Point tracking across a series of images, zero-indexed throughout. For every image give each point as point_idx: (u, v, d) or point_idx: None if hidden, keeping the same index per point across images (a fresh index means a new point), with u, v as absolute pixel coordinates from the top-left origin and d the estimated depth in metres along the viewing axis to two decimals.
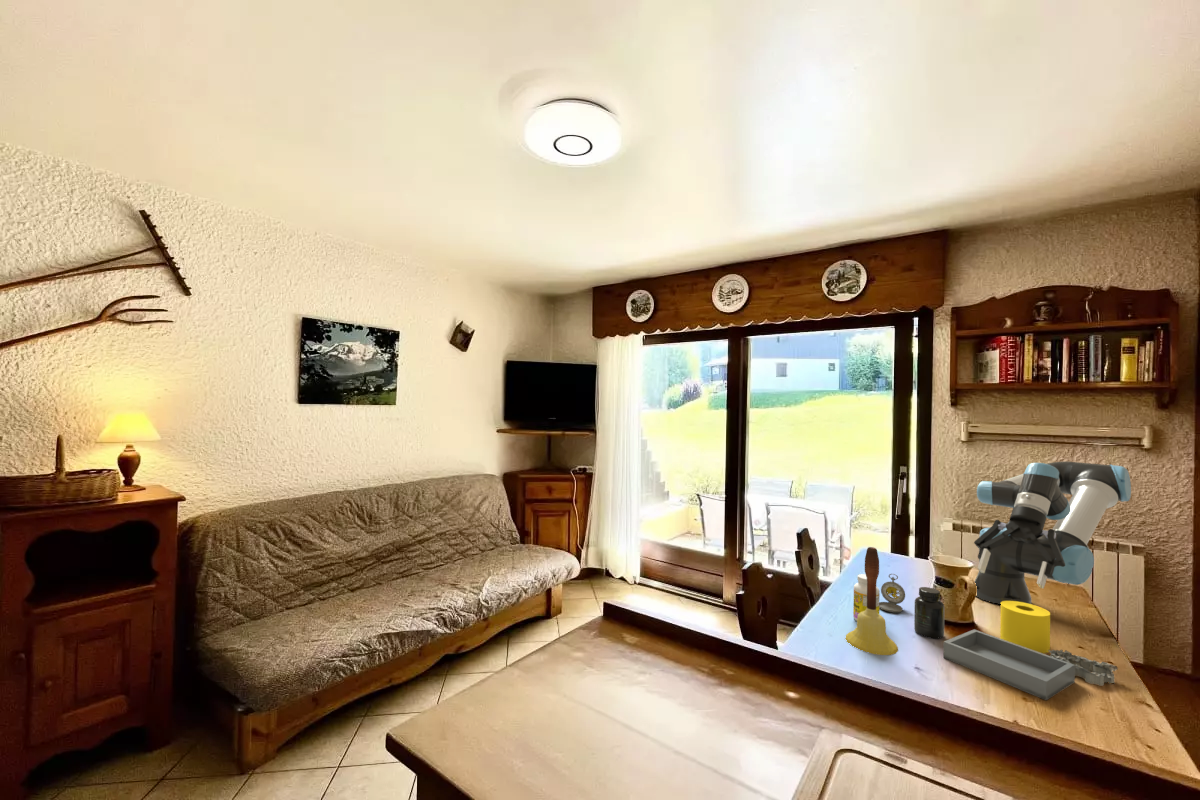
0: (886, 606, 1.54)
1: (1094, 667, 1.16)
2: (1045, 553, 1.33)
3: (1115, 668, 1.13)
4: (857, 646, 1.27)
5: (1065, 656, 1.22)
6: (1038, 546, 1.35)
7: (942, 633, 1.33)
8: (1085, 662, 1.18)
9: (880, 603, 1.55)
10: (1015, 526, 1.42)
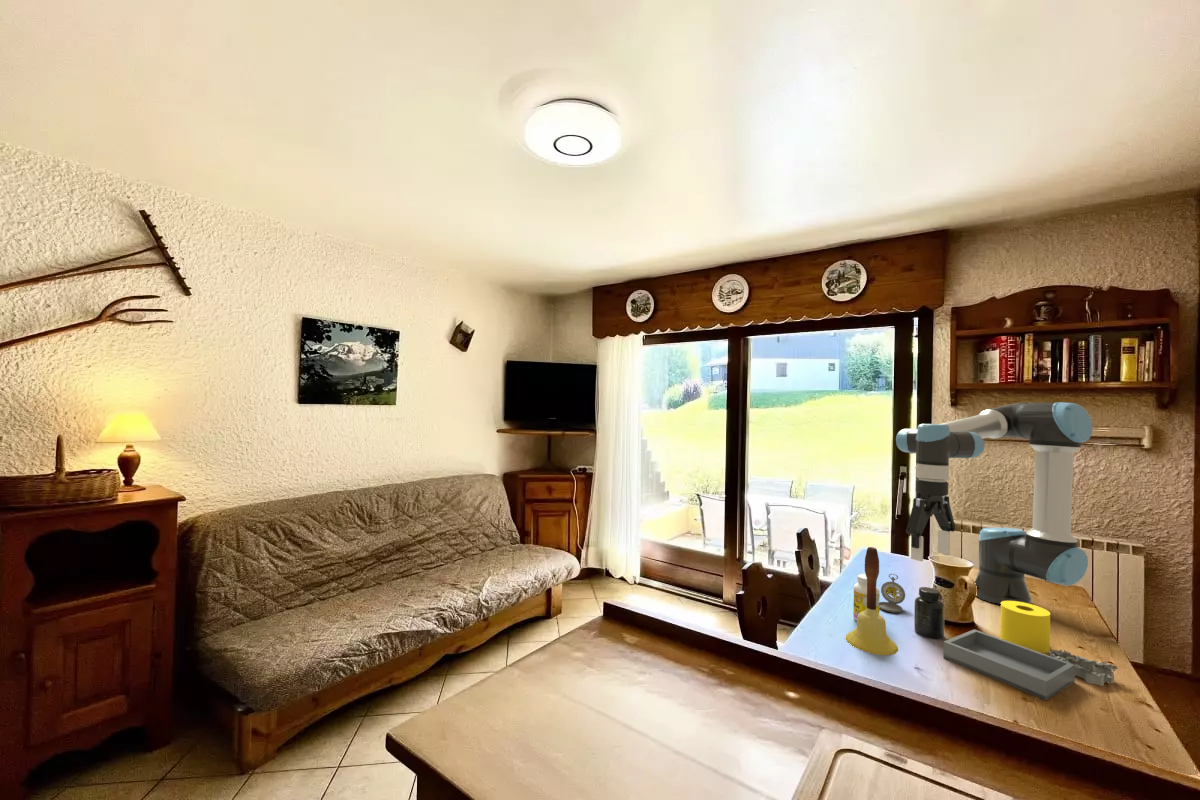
0: (886, 606, 1.54)
1: (1093, 667, 1.16)
2: None
3: (1115, 668, 1.13)
4: (857, 646, 1.27)
5: (1064, 656, 1.22)
6: None
7: (942, 633, 1.33)
8: (1084, 662, 1.18)
9: (880, 603, 1.55)
10: None
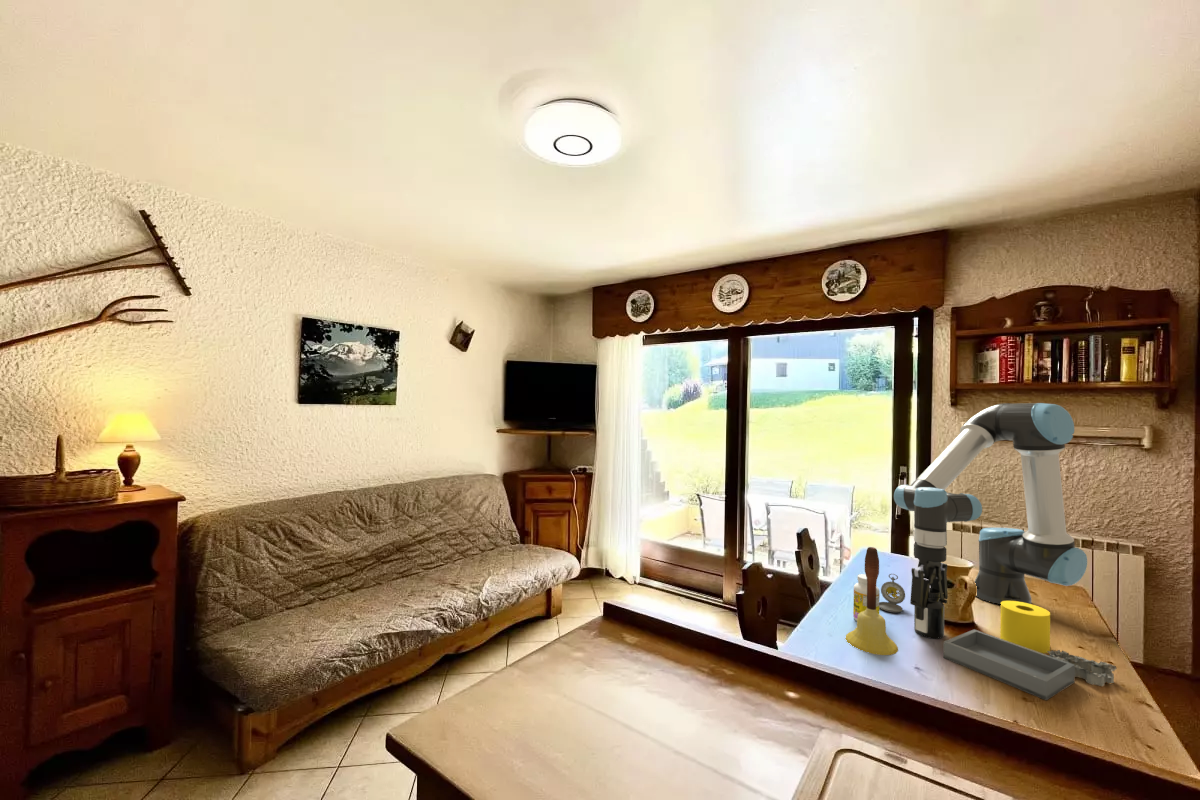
0: (886, 606, 1.54)
1: (1092, 667, 1.16)
2: None
3: (1114, 668, 1.13)
4: (857, 646, 1.27)
5: (1062, 656, 1.22)
6: None
7: (942, 633, 1.33)
8: (1082, 662, 1.18)
9: (880, 603, 1.55)
10: None
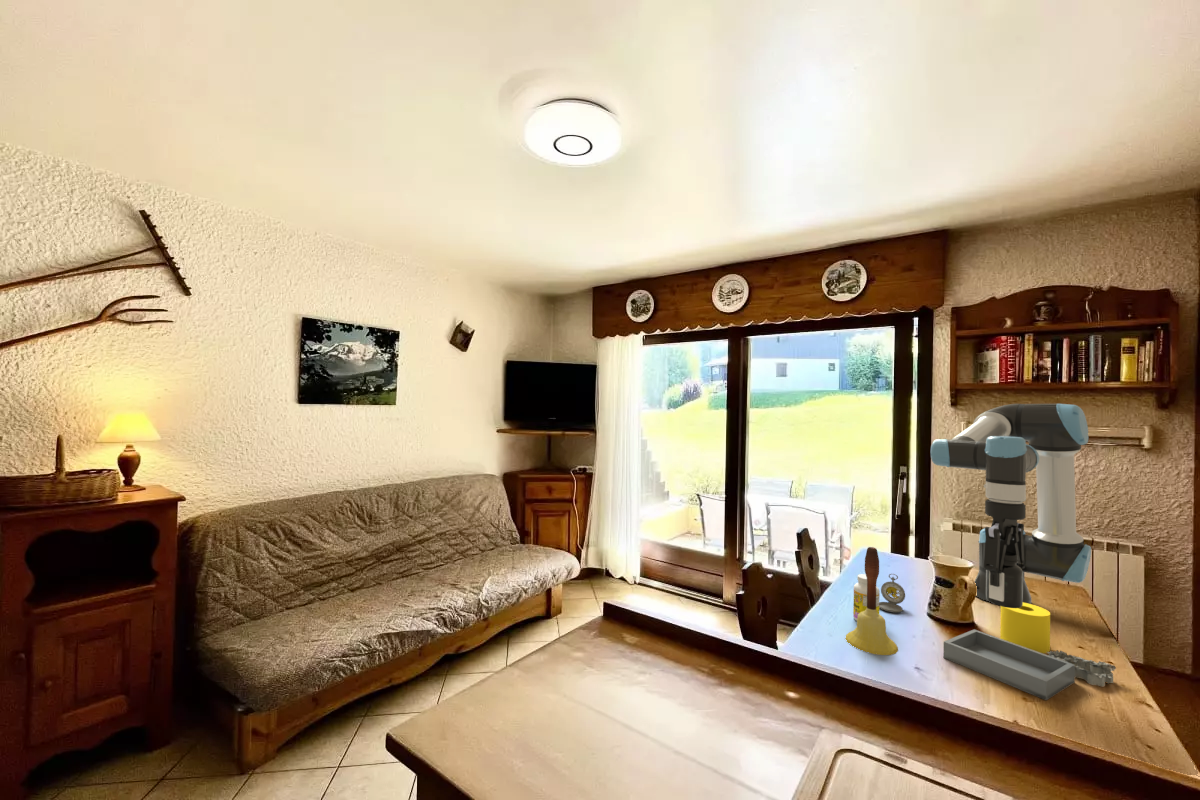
0: (886, 606, 1.54)
1: (1091, 667, 1.16)
2: None
3: (1113, 668, 1.13)
4: (857, 646, 1.27)
5: (1060, 656, 1.22)
6: None
7: (1021, 601, 1.15)
8: (1081, 662, 1.18)
9: (880, 603, 1.55)
10: None
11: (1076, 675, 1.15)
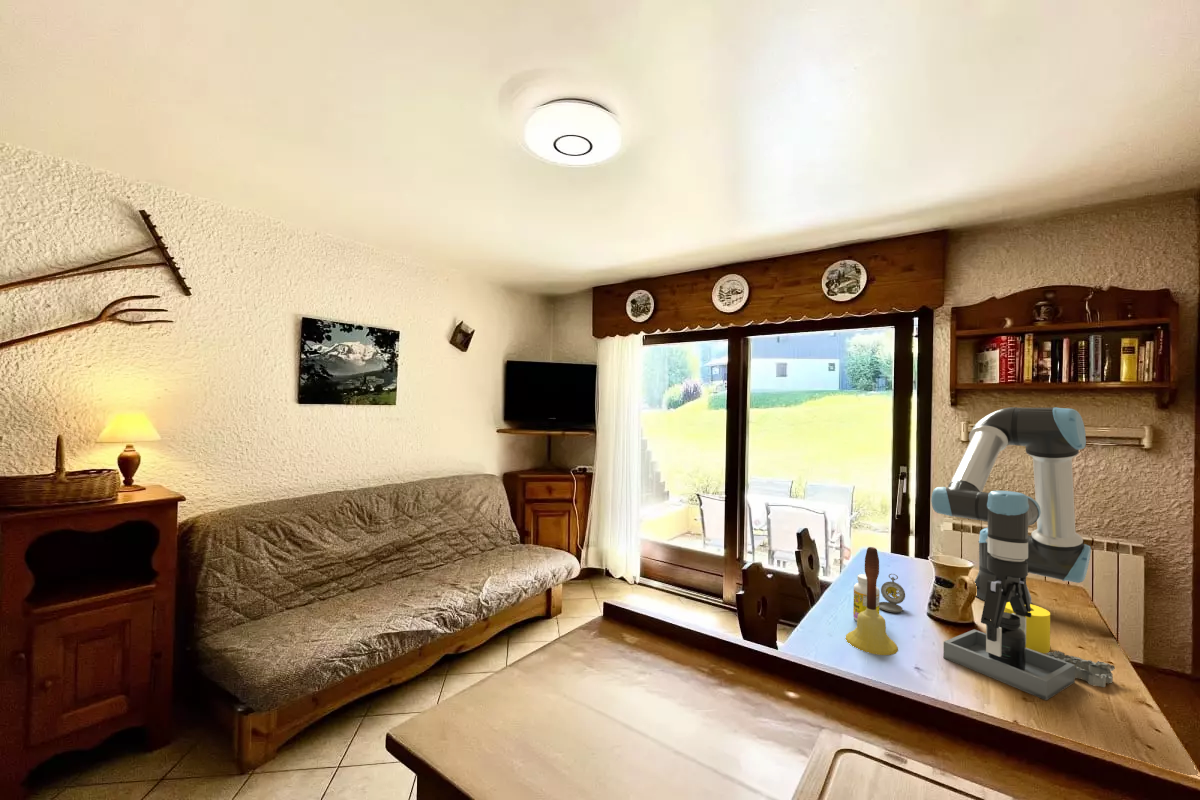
0: (886, 606, 1.54)
1: (1090, 667, 1.16)
2: None
3: (1112, 667, 1.13)
4: (857, 646, 1.27)
5: (1058, 657, 1.21)
6: None
7: (1024, 666, 1.15)
8: (1080, 663, 1.18)
9: (880, 603, 1.55)
10: None
11: (1077, 676, 1.14)
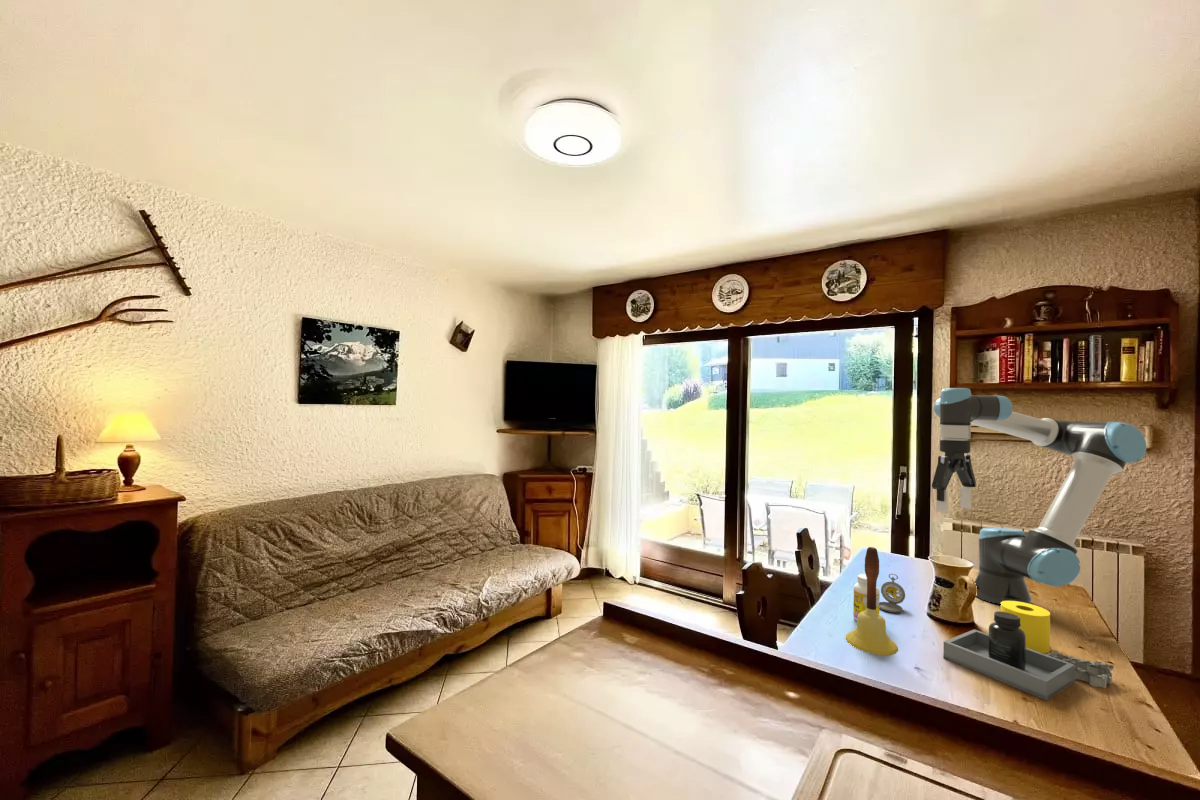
0: (886, 606, 1.54)
1: (1088, 667, 1.16)
2: None
3: (1111, 667, 1.13)
4: (857, 646, 1.27)
5: None
6: None
7: (1024, 666, 1.15)
8: (1078, 663, 1.18)
9: (880, 603, 1.55)
10: None
11: (1077, 677, 1.14)
